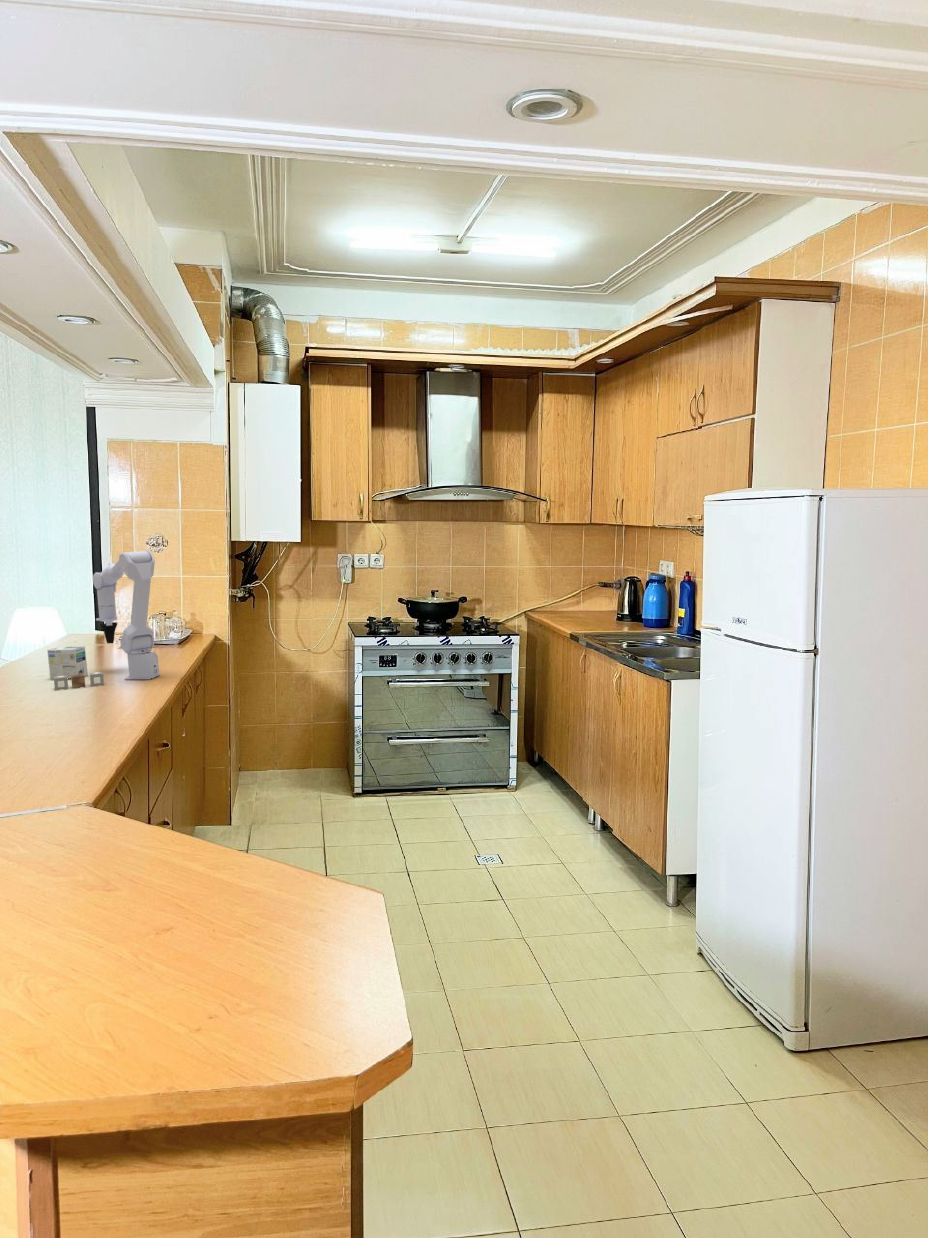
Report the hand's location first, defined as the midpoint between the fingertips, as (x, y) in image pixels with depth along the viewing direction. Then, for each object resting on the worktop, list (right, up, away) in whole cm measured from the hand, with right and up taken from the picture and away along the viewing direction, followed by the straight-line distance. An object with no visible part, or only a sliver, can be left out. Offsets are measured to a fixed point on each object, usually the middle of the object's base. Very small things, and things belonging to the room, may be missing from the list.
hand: (110, 643), depth 320 cm
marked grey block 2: (+4, -14, -22) cm, 26 cm away
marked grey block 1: (-6, -14, -26) cm, 30 cm away
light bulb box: (-11, -12, -7) cm, 18 cm away
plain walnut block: (-1, -14, -24) cm, 28 cm away
